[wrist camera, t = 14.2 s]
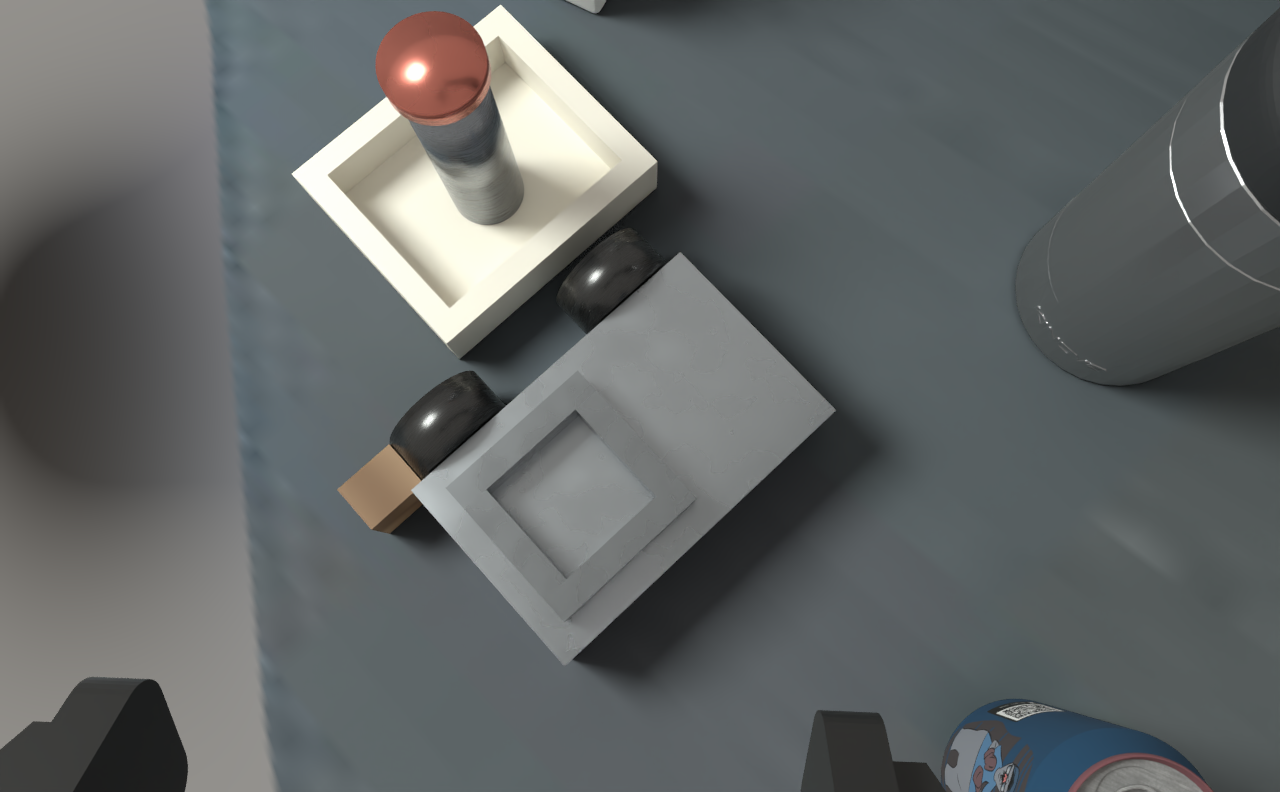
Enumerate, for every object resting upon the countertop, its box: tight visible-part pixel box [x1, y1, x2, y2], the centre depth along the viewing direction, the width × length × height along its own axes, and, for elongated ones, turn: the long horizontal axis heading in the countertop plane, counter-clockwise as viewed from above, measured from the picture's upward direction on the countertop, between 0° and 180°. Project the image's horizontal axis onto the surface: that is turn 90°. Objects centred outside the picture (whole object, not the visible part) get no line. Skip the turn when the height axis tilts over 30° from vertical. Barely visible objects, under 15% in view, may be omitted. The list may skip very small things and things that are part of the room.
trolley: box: [390, 228, 836, 666], centre depth 43 cm, size 16×12×6 cm
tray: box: [292, 5, 657, 359], centre depth 47 cm, size 13×11×3 cm
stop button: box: [376, 11, 524, 225], centre depth 42 cm, size 4×4×12 cm
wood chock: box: [337, 444, 422, 534], centre depth 44 cm, size 3×2×3 cm
